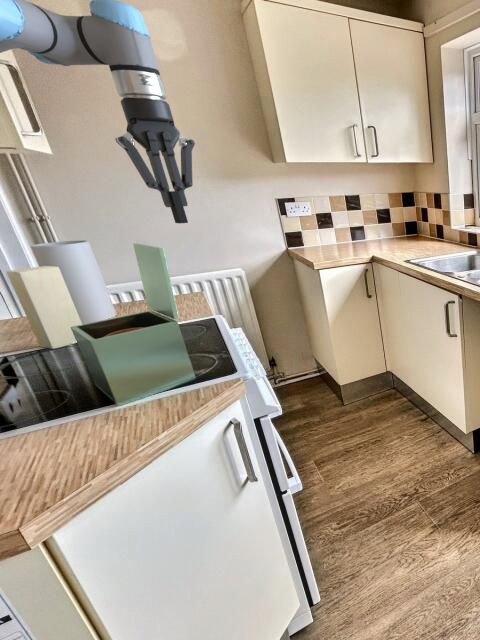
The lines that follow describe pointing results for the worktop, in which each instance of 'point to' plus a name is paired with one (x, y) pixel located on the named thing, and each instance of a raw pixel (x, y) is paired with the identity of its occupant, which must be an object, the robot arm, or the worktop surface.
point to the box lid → (156, 279)
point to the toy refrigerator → (46, 304)
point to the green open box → (135, 355)
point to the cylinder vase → (78, 277)
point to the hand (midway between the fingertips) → (181, 222)
